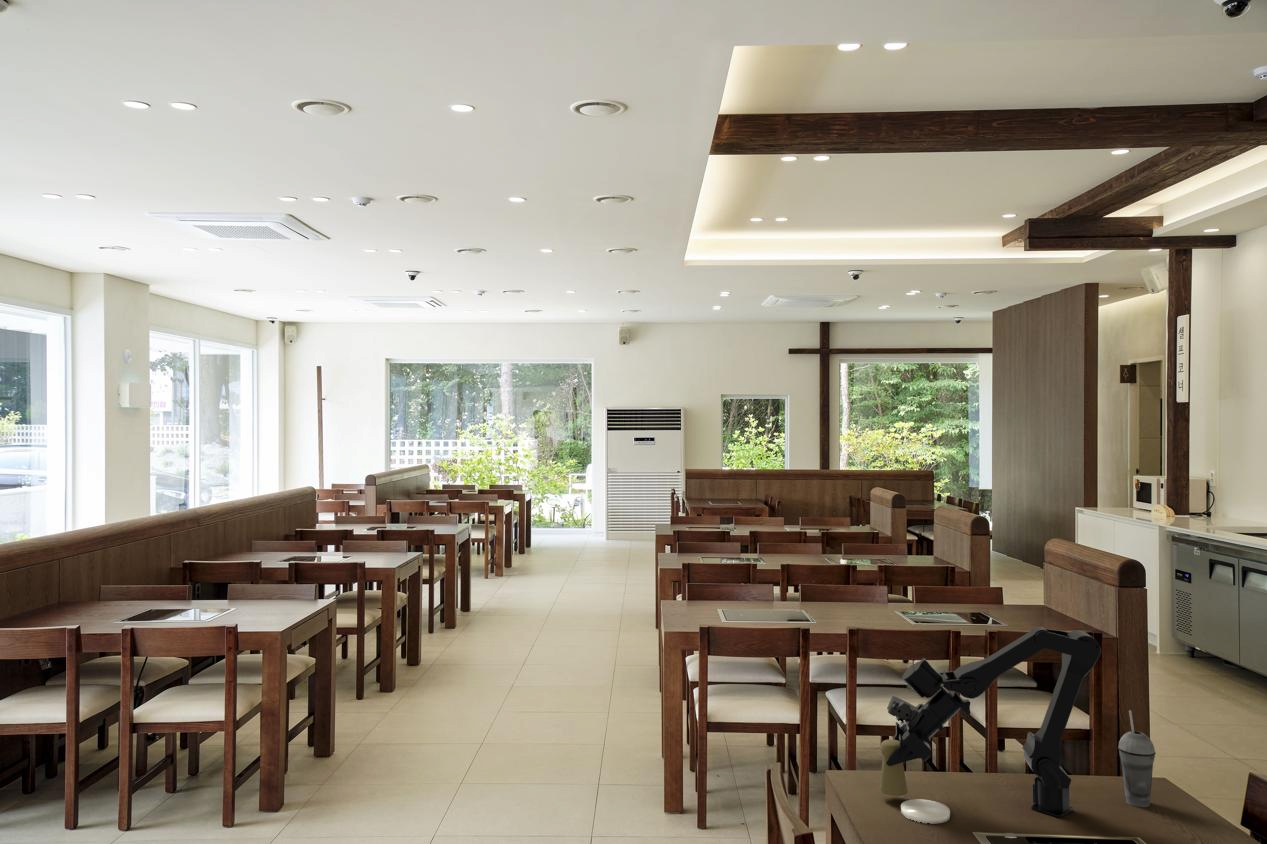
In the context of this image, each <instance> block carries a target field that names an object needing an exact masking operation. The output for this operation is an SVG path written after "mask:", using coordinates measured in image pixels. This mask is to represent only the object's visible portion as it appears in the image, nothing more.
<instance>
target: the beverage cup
mask: <svg viewBox="0 0 1267 844" xmlns="http://www.w3.org/2000/svg"><path fill="white" fill-rule="evenodd" d="M1128 714H1129V715H1128V716H1129V721H1130V722H1129V723H1130V728H1131V731H1127V732H1125V733H1124V734H1123V735H1122V736H1121V737H1120V740H1119V741H1118V746H1117V749H1118V753H1119V758H1120V761H1121V762H1120V763H1121V772H1122V779H1123V786H1124V787H1123V788H1124V795H1125V802H1126V803H1127V804H1128V805H1130V806H1133V807H1136V808H1138V807H1139V808H1148V807H1150V802H1151V798H1152V797H1151V796H1152V783H1153V769H1154V762H1155V758H1156V754H1157V753H1156V750H1155V746H1154V744H1153V741H1152V740H1151V738H1150V737H1149V736H1148V735H1146V734H1145V733H1143V732H1141V731H1137V730H1135V726H1134V719H1133V713H1132V710H1128Z"/></svg>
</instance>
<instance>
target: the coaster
mask: <svg viewBox="0 0 1267 844" xmlns="http://www.w3.org/2000/svg"><path fill="white" fill-rule="evenodd" d="M900 814H903V815H904V816H905V818H906V819H908V820H910V819H911V820H910V821H912V820H914V821H913V822H916V821H917V822H916V823H920V822H922V823H921V824H927V823H930V825H935V824H942V823H946V822H948V821H950V819H951V818H950V817H951V811H950V808H949V807H948V806H947V805H946V804H944V803H941V802H938V801H934V800H929V799H921V798H919V799H918V798H916V799H915V798H914V799H908V800H905V801H903V802H902V803H901V804H900ZM903 815H902V816H903ZM904 816H903V817H904Z"/></svg>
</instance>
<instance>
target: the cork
mask: <svg viewBox="0 0 1267 844" xmlns="http://www.w3.org/2000/svg"><path fill="white" fill-rule="evenodd" d="M892 739H893V738H892ZM892 739H885V740H882V742H881V744H880V746H879V749H880V753H881V755H882V762H881V763H882V764H881V773H880V781H879V791H880V793H882V794H884V795H886V796H887V795H888V796H895V797H900V796H905V795H907V794H908V793H909V792H908V785H907V781H906V780H907V779H906V773H905V767H904V762H903V763H899V764H896V765H893V766H888V765H887V764H886V761H887V760H888V758H889V757H890V756H891V754H892V753H893V752H894V750H895V749H896V748H897V746H898V745H899V741H898V740H892Z"/></svg>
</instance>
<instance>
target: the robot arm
mask: <svg viewBox="0 0 1267 844" xmlns="http://www.w3.org/2000/svg"><path fill="white" fill-rule="evenodd" d="M1044 649H1047V650H1052V651H1055V652H1058V653H1061V669H1060V673H1059V675H1058V679H1057V681H1056V685H1055V687H1054V689H1053V692H1052V695H1051V699H1050V700H1049V703H1048V706H1047V710H1046V712H1045V715H1044V717H1043V720H1042V724H1041V726H1040V728H1039V729H1038V730H1037V731H1036V732H1035V733H1032V732H1031V731H1028V732H1027V735H1026V736H1027V737H1026V741H1025V743H1024V745H1023V746H1022V747H1021V749H1022V750H1023V751H1024V752H1023V759H1024V760H1025V762H1026V763H1027V765H1028V766H1029V768H1030V770H1031V771H1032V772H1033V773H1034V774H1035V775H1036V777H1034V778H1033V784H1032V787H1031V788H1032V790H1031V791H1032V803H1033V804H1032V805H1030V809H1031V808H1032V810H1034V809H1035V811H1037V810H1038V811H1037V812H1040V811H1041V812H1040V813H1044V814H1046V815H1047V814H1048V815H1049V816H1053V817H1055V818H1061V817H1062V818H1063V816H1065V815H1067V814H1069V813H1071V812H1073V811H1074V807H1073V806H1070V803H1071V802H1070V785H1071V783H1072V779H1071V777H1070V776H1069V775H1068V774H1067V772H1066V770H1064V768H1063V767H1062V766H1061V760H1062V739H1063V736H1064V733H1065V730H1066V728H1067V725H1068V721H1069V718H1070V716H1071V714H1072V711H1073V708H1074V706H1075V702H1076V700H1077V697H1078V694H1079V690H1080V688H1081V685H1082V682H1083V680H1084V678H1085V677H1086V676H1087V675H1088V674H1089V672H1091V670H1092V669H1093V668H1094V667H1095V665H1096V663H1097V662H1098V660H1099V657H1100V656H1101V655H1102V647H1101V645H1100V643H1099V641H1098V640H1097V639H1096V638H1095V637H1093V636H1091V635H1090V634H1088V633H1087V632H1085V631H1083V630H1077V629H1076V630H1072V631H1070V632H1069V631H1065V630H1059V629H1053V628H1051V629H1050V628H1045V627H1042V626H1035V627H1033V628H1031V629H1030V631H1028V632H1027V633H1025V634H1024V635H1022V636H1021V637H1019V638H1017V639H1016V640H1014V641H1012V642H1011V643H1009V644H1007V645H1006V646H1004V647H1002V648H1001V649H999V650H997V651H995V652H994V653H993V654H991V655H989V656H987V657H986V658H984V659H979V660H975V661H972V662H971V661H970V662H969V663H966V664H963V665H961V666H959V667H957V668H956V669H955V670H952V671H951V670H950V671H944V672H942V671H941V672H938V671H937V670H936V669H935V668H934V667H933V666H932V665H931V664H930V663H929V661H928V660H927V659H926V658H925V657H922V659H921V660H919V661H917V662H915V663H913V664H911V665H910V666H909V667H907V668H906V670H905V671H904V673H903V674H902V676H901V680H902V681H904V683H905V684H907V686H908V687H910V689H911V690H913V691H914V692H915V693H916V694H917V695H918V696H919V697H920V698H926V699H929V700H927V701H926V702H925V703H919V704H918V705H916V706H915V705H913V704H911V703H910V702H908V701H906V700H904V699H901V698H899V697H898V696H895V695H892V696H891V699H890V701H889V703H888V706H886V707H887V708H886V710H887V713H888V714H889V715H891V716H893V717H895V719H896V720H897V721H898V722H899V723H898V722H897V721H896V722H895V734H894V736H893V738H892V740H898V741H899V745H898V746H897V748H896V749H895V750H894V752H893V753H892V754H891V756H890V757H889V758H888V760H887V761H886V764H887V765H888V766H893V765H896V764H899V763H903V764H904V763H906V762H909V761H910V762H911V761H913V760H920V759H921V760H922V761H923V762H927V761H928V760H929V759H930V758H931V757H932V749H931V746H930V742H931V738H932V737H933V736H934V735H935V734H936V733H937V732H939V731H940V732H943V730H945V727H944V726H945V725H946V723H947V722H949V721H950V720H951V719H952V717H954V716H955V715H956V714H957V713H958V712H959V711H960V710H962V711H963V712H964V713H965V714H966V715H968V716H970V715H971V701H970V700H971V699H972V700H973V699H976V698H979V697H980V696H981V695H982V694H983V693H985V691H987V690H988V689H989V688H990V687H991V685H993V683H994V682H995V681H996V679H998V678H999V677H1000V676H1001V675H1003V674H1005V673H1006V672H1008V671H1009V670H1011V669H1012V668H1014V667H1016V666H1018V665H1019V664H1020V663H1021V664H1022V662H1024V661H1026V660H1027V659H1029V658H1030V657H1032V656H1034V655H1036V654H1037V653H1039V652H1041V651H1043V650H1044ZM944 686H945V687H944ZM958 693H959V694H960V695H961V696H960V695H959V694H958ZM962 697H964V698H965V699H963V698H962ZM966 698H967V699H966ZM969 699H970V700H969Z"/></svg>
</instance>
